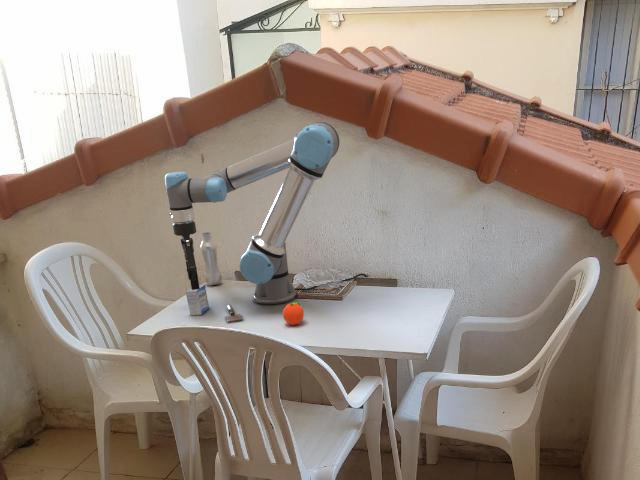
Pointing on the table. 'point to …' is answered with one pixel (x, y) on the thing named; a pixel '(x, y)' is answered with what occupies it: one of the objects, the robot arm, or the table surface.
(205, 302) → the medicine box
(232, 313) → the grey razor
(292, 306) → the clementine
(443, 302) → the table surface
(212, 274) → the plastic bottle
